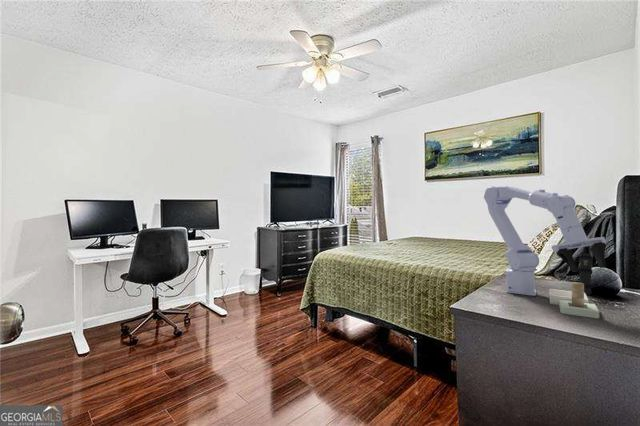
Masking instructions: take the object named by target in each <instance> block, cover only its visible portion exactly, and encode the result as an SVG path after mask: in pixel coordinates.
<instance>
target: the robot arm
mask: <svg viewBox="0 0 640 426" xmlns="http://www.w3.org/2000/svg"><path fill="white" fill-rule="evenodd" d="M514 198H515V199H521V200H524V201H529V203H530V205H531V206H535V207H538V208H542V209H545V210H547V211H548V212H550V213H551V214H552V215H553V217H554V218H555V220H556V223H557V225H558V227H559V229H560V232H561V235H562V237H563V239H564V242H563V243H560V244H558V243H557V244H553V245H551V250H552V251H553V253H556V255H557V257H559V258H560V259H561V260H562V261H563V262H565V264H567V266H568V267H569V268H570V270H571V272H572V273H575V272H579V268H578V266H577V263H576V262H575V260H574V259H575V258H574V255H573V251H572V249H573V250H574V249H576V248H577V249H578V248H584V247H589V248H588V249H589V251H590V253H591V255H592V256H593V257H594V259H595V261H596V263H597V265H598V267H599V269H600V268H601V269H602V268H606V267H607V265H606V256H605V253H606V247H607V244H606V243H607V240H606V238H605V236H600V237H593V238H592V237H591V238H588V237H587V235H586V232H585V229H584V228H583V226H582V224H581V222H580V219H579V217H578V214H577V212H576V210H575V207H576V201H575V199H574V198H573V197H572V196H570V195H567V194H566V195H564V194H563V195H559V193H558V192H553V193H551V192H547V191H546V189H542V188H541V189H538V190H534V191H528V190H525V189H522V188H518V187H515V186H492V185H491V186H488V187H487V188H486V189H485V191H484V194H483V199H484V201H485V203H486V204H487V210H488V214H489V215H490V217H491V219H492V220H493V223H494V225H495V226H496V229H498V231H499V233H500V236H501V237H502V238H501V239H502V240H503V241H504V243H505V245H506V247H507V250H506V252H505V256H506V259H507V260H506V261H507V264H508V266H509V267H510V268H506V271H505V272H506V273H505V276H506V277H505V289H506V290H505V292H506V293H508V294H509V293H510V294H514V295H515V294H517V295H523V296H532V297H533V296H534V297H536V296H537V290H536V287H535V285H536V283H535V279H536V278H535V271H536V270H537V267H538V266H539V265H540V257H539V256H538V255H537V253H535V252H534V251H533V249H532V248H531V247H530V246H528V245H527V244H525V243H524V242H523V240H522V239H521V237H520V235H519V234H518V232H517V230H516V228H515V226H514V225H513V223H512V221H511V219H510V217H509V216H508V215H507V214H508V213H507V212H506V209H507V208H508V206H509V204H510V203H511V201H512V200H513V199H514Z"/></svg>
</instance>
